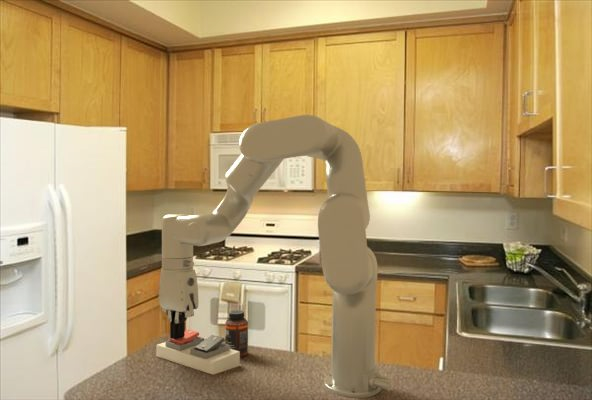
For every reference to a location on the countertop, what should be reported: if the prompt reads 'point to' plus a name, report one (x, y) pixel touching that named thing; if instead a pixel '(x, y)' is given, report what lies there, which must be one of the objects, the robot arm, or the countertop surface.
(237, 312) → the supplement bottle
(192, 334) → the red rocker
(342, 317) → the robot arm
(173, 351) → the rocker switch panel
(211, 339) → the black rocker
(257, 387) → the countertop surface
